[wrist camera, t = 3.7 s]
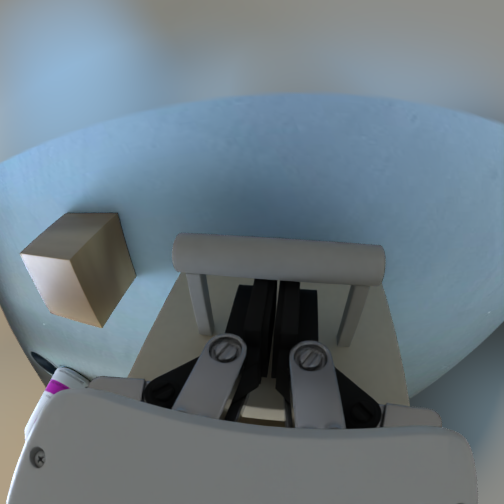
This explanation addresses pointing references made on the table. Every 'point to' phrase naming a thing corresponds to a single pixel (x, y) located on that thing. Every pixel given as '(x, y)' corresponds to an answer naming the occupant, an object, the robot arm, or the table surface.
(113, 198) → the table surface
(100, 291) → the block
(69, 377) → the supplement can
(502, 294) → the table surface
